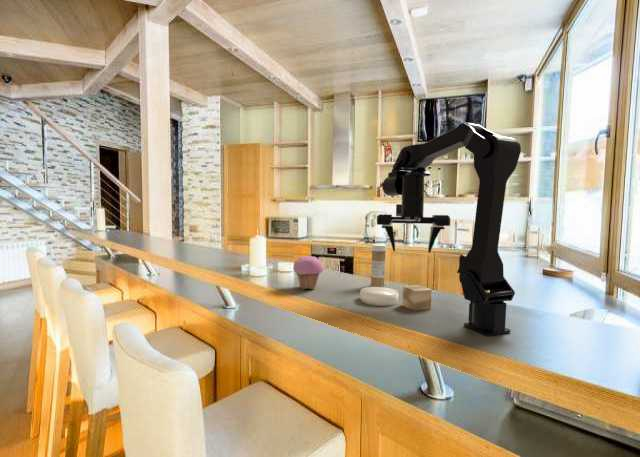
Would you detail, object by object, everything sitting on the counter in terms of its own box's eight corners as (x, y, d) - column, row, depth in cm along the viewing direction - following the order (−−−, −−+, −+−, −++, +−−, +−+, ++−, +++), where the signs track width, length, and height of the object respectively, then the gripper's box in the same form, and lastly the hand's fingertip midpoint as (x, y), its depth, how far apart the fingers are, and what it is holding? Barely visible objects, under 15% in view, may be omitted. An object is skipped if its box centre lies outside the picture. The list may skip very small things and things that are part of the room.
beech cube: (430, 309, 85) (431, 289, 84) (414, 311, 83) (415, 290, 82) (418, 303, 89) (418, 285, 89) (402, 305, 87) (402, 286, 87)
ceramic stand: (405, 303, 88) (406, 294, 88) (372, 307, 85) (372, 297, 85) (384, 294, 98) (385, 285, 97) (353, 297, 94) (354, 288, 94)
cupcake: (321, 285, 107) (321, 254, 107) (323, 292, 99) (324, 258, 98) (293, 285, 107) (293, 253, 106) (292, 292, 98) (293, 257, 97)
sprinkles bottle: (376, 284, 110) (378, 243, 109) (387, 287, 107) (389, 244, 106) (367, 286, 107) (368, 244, 107) (378, 289, 104) (379, 245, 103)
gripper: (444, 196, 97) (443, 250, 98) (378, 196, 101) (377, 248, 102) (451, 193, 86) (449, 254, 87) (377, 193, 90) (376, 252, 91)
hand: (411, 252), depth 92 cm, fingers open, 9 cm apart
